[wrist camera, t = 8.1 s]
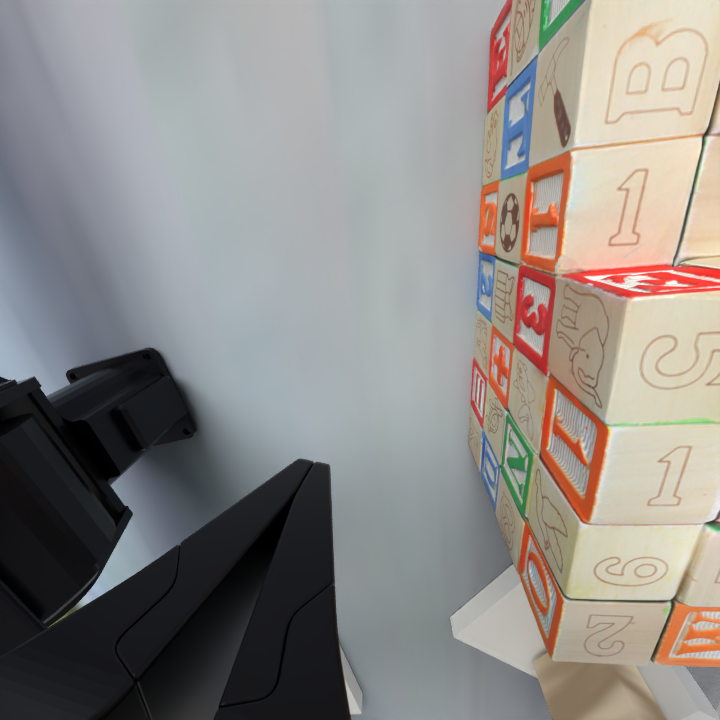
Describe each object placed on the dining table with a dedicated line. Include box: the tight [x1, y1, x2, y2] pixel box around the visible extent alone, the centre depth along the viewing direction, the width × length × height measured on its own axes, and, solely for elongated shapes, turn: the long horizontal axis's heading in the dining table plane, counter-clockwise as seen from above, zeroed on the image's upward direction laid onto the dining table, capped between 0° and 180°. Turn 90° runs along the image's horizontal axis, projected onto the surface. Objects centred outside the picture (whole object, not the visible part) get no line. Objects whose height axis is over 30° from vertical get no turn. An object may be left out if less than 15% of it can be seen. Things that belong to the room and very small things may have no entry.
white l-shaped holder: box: [450, 564, 720, 720], centre depth 24 cm, size 12×10×6 cm
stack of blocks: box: [468, 0, 720, 667], centre depth 13 cm, size 21×6×12 cm, turn 4°
